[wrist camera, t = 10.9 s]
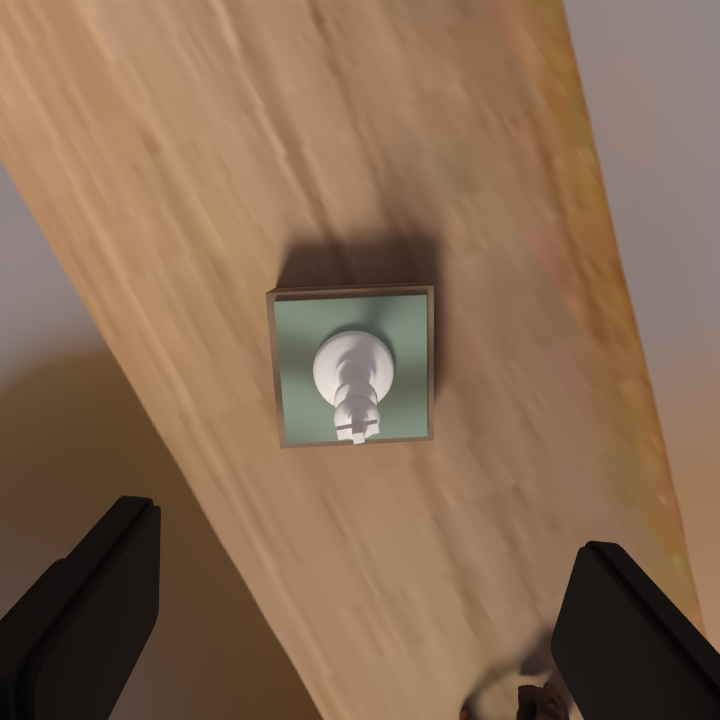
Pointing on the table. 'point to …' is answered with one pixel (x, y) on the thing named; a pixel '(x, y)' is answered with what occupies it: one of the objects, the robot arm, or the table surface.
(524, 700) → the brown curved open ring
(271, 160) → the table surface
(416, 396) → the pedestal
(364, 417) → the chess piece
